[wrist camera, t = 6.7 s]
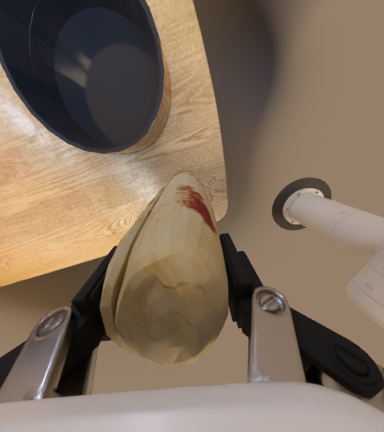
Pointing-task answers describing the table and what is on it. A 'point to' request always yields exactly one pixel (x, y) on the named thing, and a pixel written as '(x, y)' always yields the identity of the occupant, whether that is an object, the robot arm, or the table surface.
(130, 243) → the food model
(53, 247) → the table surface
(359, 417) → the robot arm
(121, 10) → the pot
